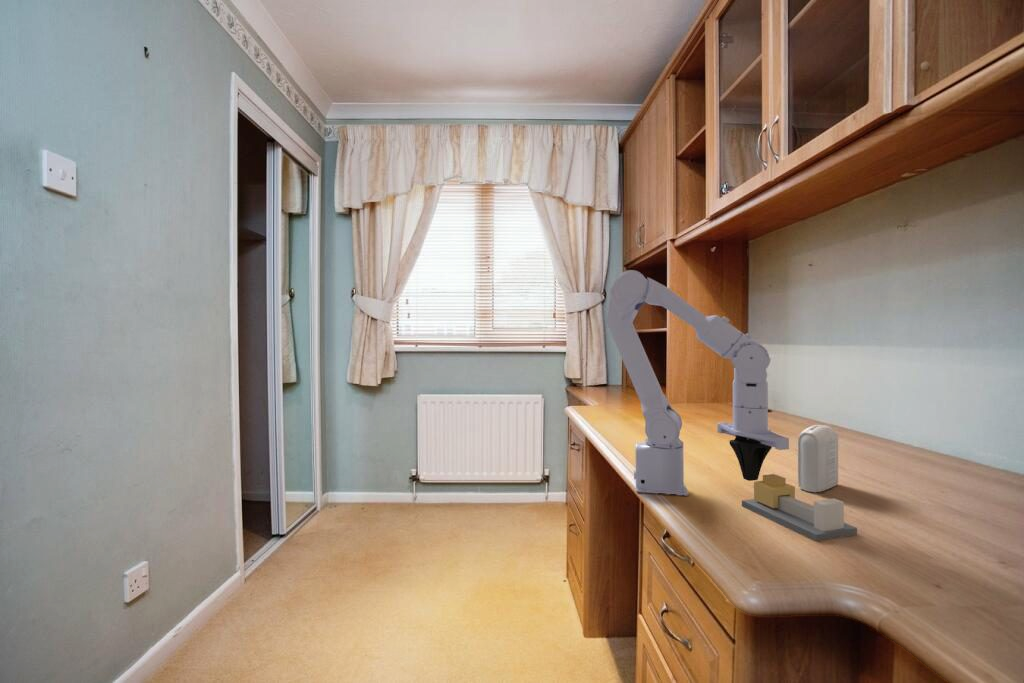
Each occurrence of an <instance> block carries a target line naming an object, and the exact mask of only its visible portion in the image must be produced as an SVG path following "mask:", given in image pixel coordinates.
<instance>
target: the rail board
mask: <svg viewBox="0 0 1024 683" xmlns="http://www.w3.org/2000/svg"><path fill="white" fill-rule="evenodd" d="M741 506H742V507H743V508H745V509H748V510H750V511H752V512H754V513H756V514H757V515H760V516H762V517H764V518H766V519H768V520H771V521H773V522H775V523H776V524H779V525H781V526H783V527H785V528H787V529H788V530H789V529H790V530H791V531H794V532H796V533H798V534H799V535H802V536H804V537H806V538H809V539H811V540H813V541H814V542H821V541H827V540H831V539H838V538H843V537H849V536H857V535H858V527H856V526H853V525H851V524H849V523H846V522H845V521H844V520H845V519H844V518H845V514H844V513H845V511H844V510H845V509H844V501H842V500H839V499H837V498H827V499H820V500H813V505H812V504H810V503H808V502H805V501H803V500H802V501H801V500H800V499H797V498H796V497H795V498H792V497H790V496H787V495H780V496H778V508H772V507H769V506H767V505H765V504H763V503H760V502H758V501H756V500H754V498H751V499H742V500H741Z"/></svg>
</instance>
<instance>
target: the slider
mask: <svg viewBox="0 0 1024 683" xmlns="http://www.w3.org/2000/svg"><path fill="white" fill-rule="evenodd" d="M786 479H787V478H786V477H783V476H780V475H777V474H775V473H771V474H763V475H762V480H760V481H758V480H755V481H754V482H753V499H754V500H756V501H758V502H760V503H763V504H765V505H767V506H769V507H772V508H778V496H780V495H787V496H790V497H792V498H795V499H796V487H795V486H794V485H792V484H789V483H786Z"/></svg>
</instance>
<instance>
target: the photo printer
mask: <svg viewBox="0 0 1024 683" xmlns="http://www.w3.org/2000/svg"><path fill="white" fill-rule="evenodd" d="M797 483H798V484H797V485H798V488H800V489H801V490H802V491H806V492H810V493H821V492H824V491H827V490H829V489H831V488H833V487H835V486H837V485H838V483H839V436H838V433H837V431H836V430H835V429H834V428H832V427H831V426H829V425H825V424H813V425H811V426H809V427H807V428H805V429H804V430H802V432H800V434H799V436H798V439H797Z"/></svg>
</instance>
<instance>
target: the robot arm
mask: <svg viewBox="0 0 1024 683" xmlns="http://www.w3.org/2000/svg"><path fill="white" fill-rule="evenodd" d="M608 302H609V303H608V309H607V315H606V324H607V326H608V329H609V331H610V334H611V336H612V338H613V340H614V344H615V345H616V348H617V349H618V353H619V356H620V357H621V360H622V361H623V362H622V363H623V365H624V366H625V369H626V371H627V373H628V376H629V378H630V380H631V383H632V386H633V387H634V390H635V392H636V395H637V397H638V399H639V402H640V406H641V412H642V415H643V417H644V421H645V423H644V426H645V427H644V432H645V435H646V438H645V441H644V442H635V446H634V447H635V448H634V450H635V451H634V453H635V458H634V459H635V462H634V463H635V466H634V469H635V470H633V479H634V480H635V487H636V488H635V490H636V492H637V493H645V494H646V493H647V494H658V493H668V494H667V495H670V494H677V495H676V496H682V495H684V496H685V497H688V496H689V492H688V489H687V486H686V484H685V482H684V480H685V478H684V475H685V474H684V473H685V472H684V468H685V467H684V466H685V465H684V442H683V440H681V439H680V433H681V432H680V431H681V429H682V426H683V421H682V418H681V416H680V413H678V412H677V411H676V410H675V409H673V407H672V406H671V404H670V402H669V400H668V398H667V397H666V395H665V393H664V392H663V390H662V388H661V384H660V383H659V380H658V377H657V376H656V373H655V371H654V369H653V367H652V364H651V362H650V360H649V358H648V355H647V353H646V350H645V348H644V346H643V344H642V341H641V339H640V337H639V334H638V332H637V330H636V327H635V326H634V324H633V323H634V320H635V319H636V317H637V315H638V313H639V310H640V309H641V308H642V307H643V306H644V305H645V303H646V304H648V305H650V306H651V305H653V306H657V307H658V306H659V307H663V308H664V309H666V310H667V311H669V312H671V313H672V314H673V315H675V316H676V317H678V318H679V319H680V320H682V321H684V322H686V324H688V325H689V326H691V327H692V328H694V330H695V336H696V339H697V340H698V341H699V342H701V343H702V344H704V345H705V346H706V347H708V348H709V349H711V350H712V351H713V352H715V353H716V354H717V355H719V356H720V357H722V358H723V359H730V361H731V364H732V365H733V367H734V368H733V381H732V423H729V422H717V434H725V435H729V436H732V437H735V438H734V439H730V440H729V446H730V447H731V448H732V450H733V452H734V454H735V456H736V458H737V461H738V465H739V467H740V471H741V474H742V477H743V479H744V480H745V481H748V482H750V481H758V479H759V475H760V472H761V469H762V466H763V463H764V461H765V459H766V457H767V456H768V454H769V453H770V451H771V450H772V449H773V448H775V449H774V450H778V451H783V450H789V449H790V438H789V437H787V436H783V435H780V434H778V433H775V432H772V429H770V428H769V409H768V408H769V391H768V390H769V389H768V387H769V386H768V385H769V384H768V381H767V378H768V372H767V369H768V367H769V366H770V364H771V359H772V358H771V356H770V355H769V353H768V350H767V349H766V347H764V346H763V345H762V344H760V343H758V342H756V341H753V340H751V339H752V337H753V336H752V335H751V334H749V333H746V334H745V333H743V332H742V331H740V330H739V329H738V328H736V327H735V326H734V325H732V324H730V323H729V322H730V319H729V318H728V317H726V316H722V317H720V316H719V315H717V314H714V315H706V314H704V313H702V312H701V311H699V310H698V309H697V308H695V307H694V306H693V305H691V304H690V303H689V302H687V301H686V300H684V298H682V297H681V296H679V295H678V294H677V293H675V292H674V291H673V290H671V289H670V288H668V287H667V286H666V285H665V284H663V283H660V282H658V281H656V280H654V279H653V278H650V277H648V276H647V278H646V277H645V276H644V275H643V273H641V272H640V271H638V270H633V269H628V270H624V271H623V272H621V273H620V274H618V275H617V277H616V279H615V280H614V282H613V283H612V286H611V287H610V290H609V301H608ZM658 495H659V494H658ZM684 496H683V497H684Z"/></svg>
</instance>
